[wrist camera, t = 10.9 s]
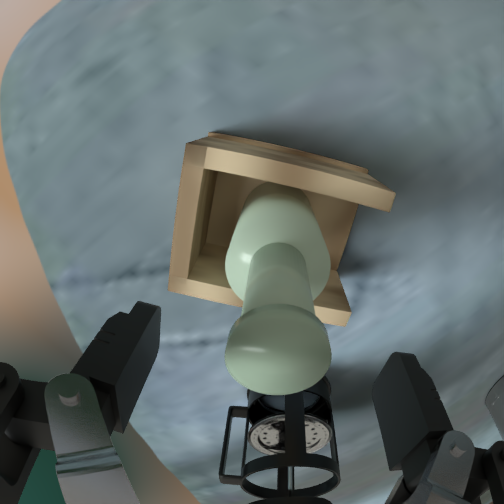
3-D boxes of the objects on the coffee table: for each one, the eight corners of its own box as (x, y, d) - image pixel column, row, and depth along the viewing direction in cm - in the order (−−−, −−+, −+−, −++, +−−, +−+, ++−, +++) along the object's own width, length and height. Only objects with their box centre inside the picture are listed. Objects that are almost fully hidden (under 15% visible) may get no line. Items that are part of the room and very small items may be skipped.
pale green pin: (319, 189, 23) (384, 310, 9) (301, 252, 25) (326, 416, 11) (250, 173, 23) (207, 274, 9) (236, 238, 25) (191, 394, 11)
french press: (343, 363, 31) (377, 579, 10) (328, 416, 35) (342, 588, 14) (230, 361, 31) (193, 583, 10) (233, 414, 35) (208, 588, 14)
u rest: (365, 168, 23) (397, 188, 16) (329, 280, 27) (343, 329, 21) (211, 131, 22) (187, 137, 16) (191, 251, 27) (167, 294, 20)
